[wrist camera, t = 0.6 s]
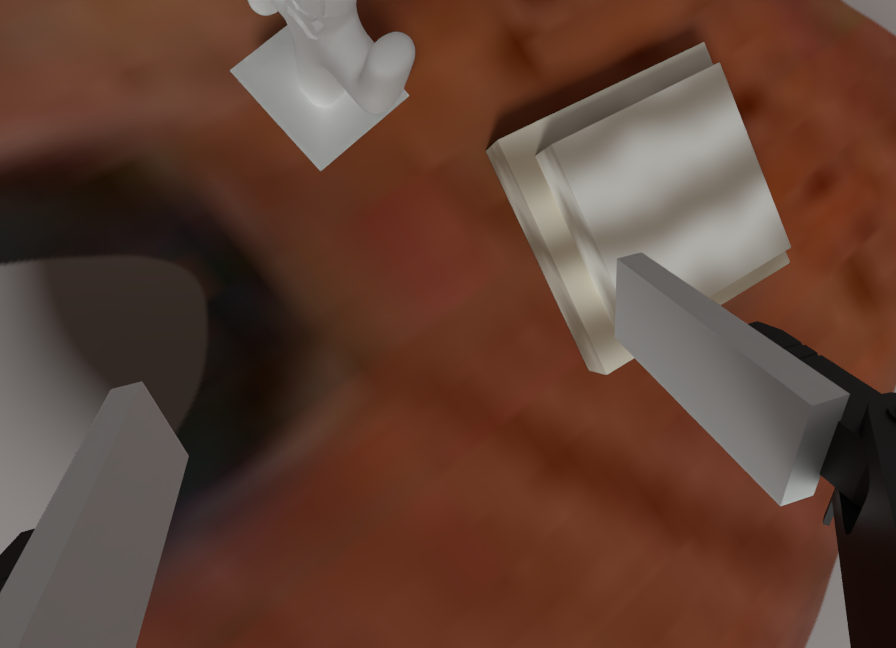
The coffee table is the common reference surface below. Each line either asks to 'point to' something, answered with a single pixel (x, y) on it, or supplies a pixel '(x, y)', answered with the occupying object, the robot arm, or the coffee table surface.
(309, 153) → the figurine
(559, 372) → the coffee table surface
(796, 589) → the coffee table surface
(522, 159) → the plinth
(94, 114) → the coffee table surface
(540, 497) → the coffee table surface
